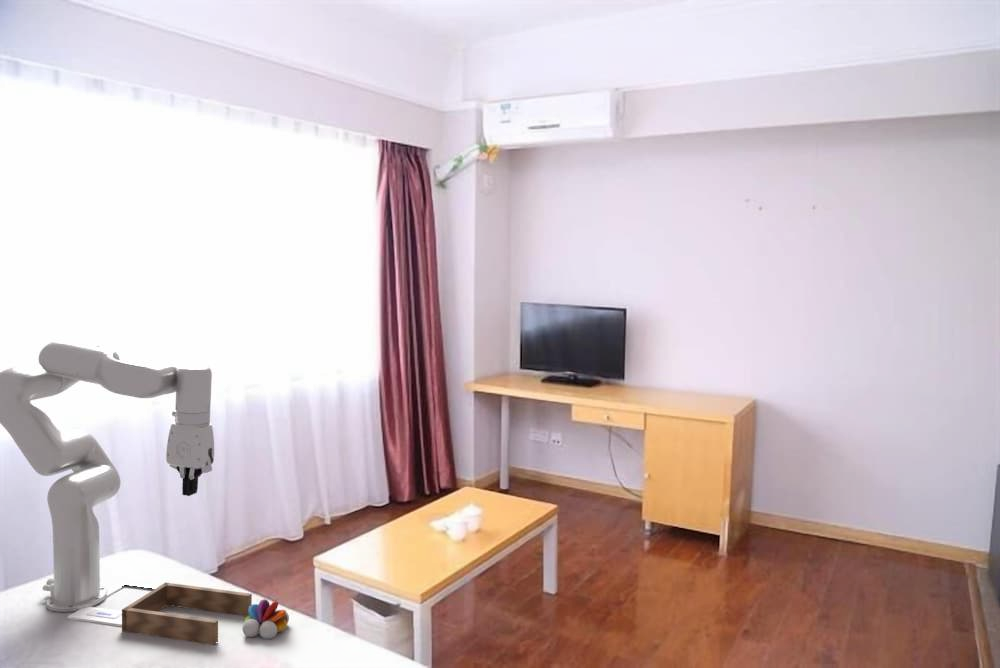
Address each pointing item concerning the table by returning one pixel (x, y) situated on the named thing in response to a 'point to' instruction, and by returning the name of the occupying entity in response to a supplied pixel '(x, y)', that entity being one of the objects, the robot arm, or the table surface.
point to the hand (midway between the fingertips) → (189, 493)
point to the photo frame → (101, 612)
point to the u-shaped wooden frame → (181, 627)
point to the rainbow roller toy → (265, 620)
